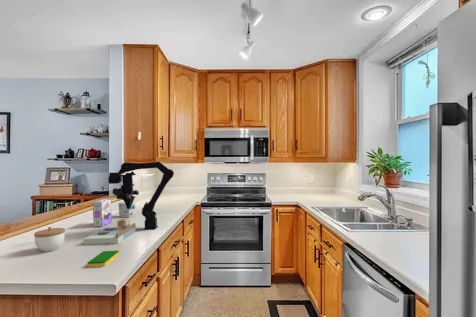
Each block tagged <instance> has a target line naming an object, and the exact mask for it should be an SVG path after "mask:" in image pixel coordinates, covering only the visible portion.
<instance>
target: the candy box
mask: <svg viewBox="0 0 476 317" xmlns="http://www.w3.org/2000/svg"><path fill="white" fill-rule="evenodd" d="M111 202H112V201H111V199H110V198H107V199H106V198H105V199H104V198H102V199H100V200H96V201H92V216H93V218H92V220H93V228H103V227H105V226H107V225H109V224H111V223H112V219H113V218H112V203H111Z"/></svg>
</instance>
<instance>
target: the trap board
mask: <svg viewBox="0 0 476 317" xmlns="http://www.w3.org/2000/svg"><path fill="white" fill-rule="evenodd" d="M136 230H137V229H136V222H135V223H134V222H133V223H132V224H130V226H128V227H127V228H125V229H123V230H118V227H117V226H116V227H115V226H114V227H104V228H103V229H100V230H98V231H96V232H94V233H92V234H90V235H88V236H87V237H85V238H83V245H85V246H87V245H88V246H89V245H90V246H91V245H117V244H120V243H122V242H123V241H124V240H126V239H127V238H130V237H131V236H132V235H133V234H134V233H136Z"/></svg>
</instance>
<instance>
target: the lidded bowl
mask: <svg viewBox="0 0 476 317" xmlns="http://www.w3.org/2000/svg"><path fill="white" fill-rule="evenodd" d="M65 233H66V230H65V228H64V227H53V228H52V227H51V226H48V227H47V228H46V229H45V228H44V229H41V230H38V231H36V232H34V234H33V236H34V242H35V243H34V244H35V246H36V247H37V248H38V249H39V250H40V251H41V252H42V253H45V252H46V253H48V252H55V251H57V250H59V249H60V247H61V246H62V245H63V243H64V242H65V236H66V234H65Z"/></svg>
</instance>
